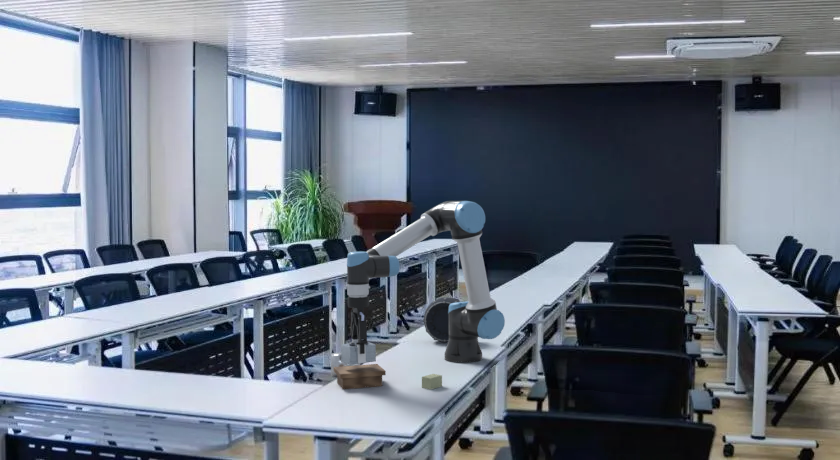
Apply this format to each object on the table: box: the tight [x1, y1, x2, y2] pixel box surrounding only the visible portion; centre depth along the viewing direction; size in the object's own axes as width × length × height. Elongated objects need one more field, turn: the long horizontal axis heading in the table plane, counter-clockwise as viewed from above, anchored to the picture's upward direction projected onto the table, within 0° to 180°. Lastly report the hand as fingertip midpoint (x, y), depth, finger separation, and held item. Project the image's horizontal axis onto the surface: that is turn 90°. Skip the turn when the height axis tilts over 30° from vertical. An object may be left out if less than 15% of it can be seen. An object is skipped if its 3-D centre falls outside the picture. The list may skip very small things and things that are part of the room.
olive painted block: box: [421, 373, 443, 390], centre depth 290 cm, size 6×4×4 cm, turn 137°
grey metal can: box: [330, 351, 348, 378], centre depth 309 cm, size 6×6×8 cm
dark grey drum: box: [422, 296, 461, 344], centre depth 372 cm, size 11×20×20 cm, turn 78°
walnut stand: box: [334, 363, 387, 390], centre depth 295 cm, size 16×12×6 cm
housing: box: [340, 340, 377, 366], centre depth 295 cm, size 10×7×7 cm
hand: (358, 360), depth 295 cm, fingers closed on housing, 8 cm apart
